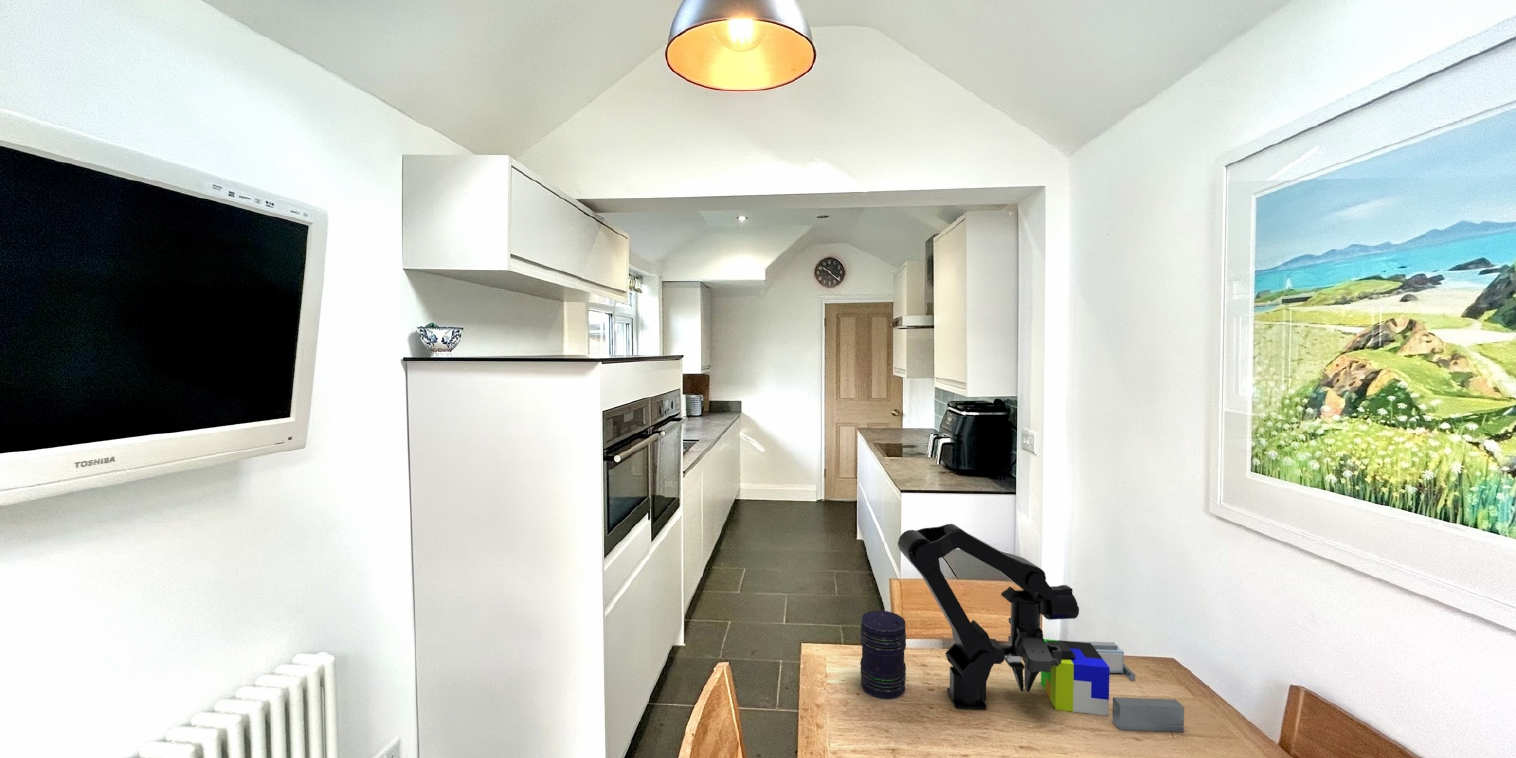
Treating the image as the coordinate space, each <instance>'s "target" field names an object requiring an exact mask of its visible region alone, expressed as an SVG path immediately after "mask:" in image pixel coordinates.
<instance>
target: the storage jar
mask: <svg viewBox="0 0 1516 758" xmlns="http://www.w3.org/2000/svg"><path fill="white" fill-rule="evenodd" d="M860 618H861V619H860V622H861V623H860V624H861V625H860V644H861V658H860V663H859V664H860V668H859V669H860V686H861V688H862V691H864V692H865V693H866V694H868V695H869V696H871V697H873V698H876V699H879V700H895V699H898V698H901V697H902V696H903V695H904V694H905V691H906V685H905V684H906V679H907V676H906V675H907V672H906V671H907V666H906V662H905V650H906V646H907V633H906V625H907V623H906V620H905V618H904V617H902V616H901V615H899V614H897V613H895V612H891V611H887V610H871V611H868V612H865V613H864V614H862V615H861V617H860Z"/></svg>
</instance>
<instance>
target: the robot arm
mask: <svg viewBox="0 0 1516 758" xmlns="http://www.w3.org/2000/svg"><path fill="white" fill-rule="evenodd" d="M897 546H898V549H899V551H900V552H901V554H903V556H904V557H905V558H906V559H907V561H908V562H909V563H910V564H911V565H912V566H913V567H914V568H915V569H916V571H917V572H918V573H919V574H920V575H921V577H922V578H923V581H924V582H925V584H926V586H927V587H928V589H929V591H930V593H931V595H932V596H933V598H934V600H935V602H936V603H937V605H938V606H939V609H940V610H941V612H942V614H943V615H944V617H945V618H946V621H947V622H948V624H949V626H950V628H951V632H952V633H951V634H952V638H953V641H954V642H953V644H952V645H951V646H950V647H949V648H948V649H947V651H945V657H946V660H947V662H948V663H949V664H950V665H951V666H949V687H948V688H947V689H946V690H947V693H948V695H949V697H950V700H951V701H952V704H953V706H954V707H955V708H956V709H970V710H971V709H973V710H987V704H986V701H987V682H988V679H989V676H990V673H991V671H992V669H993V667H994V665H1001V664H1002V663H1004V661H1005V662H1006V664H1007V665H1008V667H1010V668H1011V670H1012V673H1013V675H1014V678H1015V681H1016V683H1017V686H1018V688H1019V689H1018V690H1019V691H1020V692H1021V693H1023V692H1024V690H1025V691H1026V692H1027V693H1029V692H1030V691H1031V689H1032V686H1033V685H1034V682H1035V680H1036V678H1037V676H1038V675H1039V673H1041V672H1045V673H1049V672H1050V671H1051V667H1052V666H1059V664H1061V661H1062V660H1075V659H1076V657H1075V654H1074V653H1073V652H1072V651H1071V650H1070V648H1069V647H1068V646H1067V645H1066V644H1065V643H1064V642H1063V641H1064V640H1062V641H1046V642H1044V639H1045V638H1044V632H1043V629H1041V615H1043V618H1045V619H1046V620H1048V621H1052V620H1053V621H1054V620H1055V621H1056V620H1075V619H1077V618H1078V616H1079V613H1080V607H1079V606H1078V605H1079V604H1078V602H1077V601H1078V600H1077V599H1076V596H1074V593H1073V590H1074V589H1073V588H1071V587H1070V586H1069V585H1067V584H1061V585H1057V586H1056V585H1055V586H1051V585H1050V584H1049V583H1048V581H1047V577H1046V572H1045V571H1044V570H1043V569H1041V568H1040V567H1039V566H1038V565H1035V564H1034V563H1033V562H1031V561H1029V560H1028V559H1026V558H1025V557H1022V556H1018V555H1016V554H1013V553H1007V552H1004V551H1001V550H999V549H997V548H996V547H994V546H992V545H990V544H988V543H986V542H984V541H983V540H981V539H979V538H977V537H975V536H973V535H972V534H970V533H968V532H966V531H965V530H963V529H962V528H961V527H958V526H957V525H956V524H955V523H954V524H953V523H946V524H944V525H940V526H933V527H924V528H920V529H917V530H916V529H909V530H906V531H904V532H902V533H901V534H900V537H899V538H898V541H897ZM957 549H959V550H961V551H963V552H964V553H966V554H968V555H970V556H972V557H974V558H975V559H977V560H979V561H981V562H983V563H984V564H986V565H988V566H990V567H992V568H993V569H996V570H997V571H998V572H1000V573H1001V574H1002V575H1003V576H1005V577H1006V578H1007V579H1008V580H1010V581H1011V582H1012V583H1013V584H1015V585H1016V586H1017V587H1019V588H1020V589H1014V588H1013V587H1011V586H1008V588H1006V589H1005V590H1003V591H1002V592H1001V593H1000V596H1001V597H1002V598H1004V599H1005V600H1006V601H1007V602H1009V603H1010V617H1008V624H1009V625H1010V635H1008V636H1007V637H1008V638H1007V639H1008V642H1009V643H1010V644H1009V645H1001V644H1000V643H999V642H998V641H997V639H996V638H990V636H989V634H988V632H987V631H986V630H985V629H984V628H982V626H981V625H980V624H979V623H978V622H977V621H976V620H975V619H972V620H971V621H970V619H969V617H968V615H967V614H966V612H965V610H964V608H963V607H962V605H961V603H960V602H959V600H958V599H957V596H956V595H955V593H954V591H953V590H952V587H951V586H950V585H949V583H948V580H947V579H946V577H945V575H944V573H943V572H942V569H941V561H940V559H941V558H945V557H946V556H947V555H949V554H950V553H951V552H953V551H954V550H957ZM1022 661H1023V662H1022ZM1023 663H1024V664H1023ZM1024 687H1025V689H1024Z"/></svg>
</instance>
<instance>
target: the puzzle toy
mask: <svg viewBox="0 0 1516 758" xmlns="http://www.w3.org/2000/svg"><path fill="white" fill-rule="evenodd" d="M1043 639H1044V642H1046V641H1063V642H1064V643H1065V644H1066V645H1067V646H1068V647H1069V648H1070V650H1071V651H1072V652H1073V653H1074V654H1075V657H1076V659H1075V660H1062V661H1061V664H1059V666H1052V667H1051V671H1050V672H1049V673H1045V672H1040V683H1041V685H1042V687H1043V689H1044V691H1045V692H1046V695H1047V697H1048V698H1049V700H1050V703H1051V704H1052V706H1053V708H1054V710H1055V711H1064V712H1071V713H1072V712H1073V713H1080V714H1090V715H1097V716H1110V715H1109V714H1110V713H1109V711H1110V710H1109V709H1110V708H1109V707H1110V668H1109V666H1108V665H1107V664H1106V662H1105V661H1104V660H1103V659H1102V657H1101V656H1100V655H1099V653H1098V652H1097V651H1096V649H1095V648H1094V647H1093V646H1092V644H1091V643H1084V642H1085V641H1084V642H1073V641H1074V640H1062V639H1049V638H1047V639H1046V638H1043Z"/></svg>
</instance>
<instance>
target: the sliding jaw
mask: <svg viewBox="0 0 1516 758" xmlns="http://www.w3.org/2000/svg"><path fill="white" fill-rule="evenodd" d="M1072 641H1073V642H1084V643H1091V644H1092V646H1093V647H1094V648H1095V649H1096V651H1097V652H1098V653H1099V655H1100V656H1101V657H1102V659H1103V660H1104V661H1105V662H1106V664H1107V665H1108V666H1109V668H1110V673H1114V674H1115V673H1116V674H1118V673H1119V674H1124V673H1123V664H1125V663H1124V657H1125V656H1124V655H1125V652H1124V650H1123V649H1121V648H1120V647H1119V646H1118V644H1116V643H1115V642H1114V641H1113V642H1111V641H1082V640H1081V641H1078V640H1077V641H1075V640H1072Z"/></svg>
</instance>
